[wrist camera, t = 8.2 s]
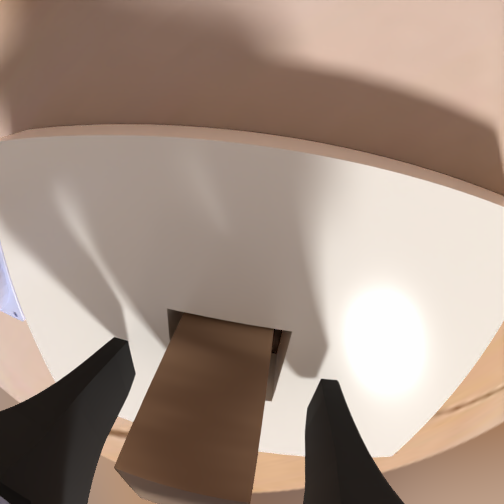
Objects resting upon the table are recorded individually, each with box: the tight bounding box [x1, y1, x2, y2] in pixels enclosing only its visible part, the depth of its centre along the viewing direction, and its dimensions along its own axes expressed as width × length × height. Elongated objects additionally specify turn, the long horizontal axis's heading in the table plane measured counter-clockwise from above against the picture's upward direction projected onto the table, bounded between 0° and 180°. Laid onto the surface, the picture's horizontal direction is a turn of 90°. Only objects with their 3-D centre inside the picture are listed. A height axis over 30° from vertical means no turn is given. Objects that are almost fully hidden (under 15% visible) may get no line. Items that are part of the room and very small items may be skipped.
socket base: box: [0, 124, 504, 457], centre depth 13 cm, size 22×16×3 cm
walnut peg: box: [114, 312, 274, 504], centre depth 10 cm, size 3×3×9 cm
